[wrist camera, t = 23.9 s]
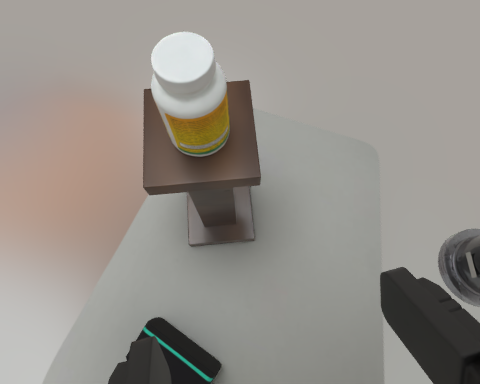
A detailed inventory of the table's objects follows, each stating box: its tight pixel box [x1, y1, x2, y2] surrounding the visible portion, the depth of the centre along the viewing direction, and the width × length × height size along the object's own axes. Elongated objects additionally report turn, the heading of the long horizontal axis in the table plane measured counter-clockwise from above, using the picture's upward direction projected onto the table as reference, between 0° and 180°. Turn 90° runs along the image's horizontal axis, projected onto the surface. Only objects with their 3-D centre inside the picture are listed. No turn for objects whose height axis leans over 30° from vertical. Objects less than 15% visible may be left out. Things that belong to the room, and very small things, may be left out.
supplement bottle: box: [151, 32, 230, 157], centre depth 26 cm, size 5×5×10 cm
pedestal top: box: [143, 80, 261, 195], centre depth 32 cm, size 10×10×2 cm
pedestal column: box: [187, 186, 255, 246], centre depth 44 cm, size 10×10×25 cm
